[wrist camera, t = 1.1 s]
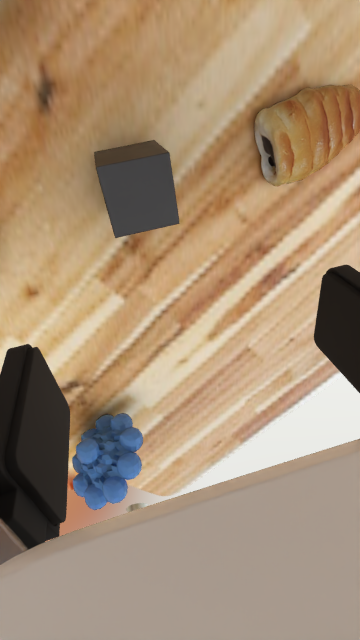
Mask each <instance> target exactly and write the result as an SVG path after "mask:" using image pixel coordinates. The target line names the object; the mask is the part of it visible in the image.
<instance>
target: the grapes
mask: <svg viewBox="0 0 360 640" xmlns="http://www.w3.org/2000/svg"><path fill="white" fill-rule="evenodd" d="M132 425H133V423H132V419H131V418H130V417H129V415H127V414H124V413H121V414H117V415H116V416H114V417H113V416H112V415H108V414H107V415H103V416H101V417H100V418H99V419H98V420H97V421H96V429H94V428H93V429H89V430H87V431H86V432H84V433H83V434H82V436H81V442H80V443H79V444H78V445H77V446H76V454H75V456H74V457H73V458H72V463H73V467H74V469H75V470H76V472H77V473H79V474H78V475H77V476H76V477H75V478H74V479H73V487H74V491H75V492H76V494H77V495H78V496H81V497H84V498H85V502H86V504H87V505H88V507H89V508H91V509H93V510H97V509H101V508H102V507H103V506H105V505H106V503H107V501H108V502H110V503H113V504H114V503H118V502H120V501H121V500H123V499H124V498H125V496H126V494H127V489H128V486H127V482H126V480H130V479H134V478H135V477H136V476H137V475H138V474H139V473H140V471H141V466H142V463H141V460H140V457H139V456H138V455H137V454H136V453H134V452H136V451H137V450H138V449H140V447H141V446H142V444H143V437H142V433H141V432H140V431H139V430H138V429H137V428H134V427H132ZM125 479H126V480H125Z"/></svg>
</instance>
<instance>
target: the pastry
mask: <svg viewBox="0 0 360 640" xmlns="http://www.w3.org/2000/svg"><path fill="white" fill-rule="evenodd" d="M359 131H360V90H359V89H358V88H357V87H355V86H353V85H344V86H334V85H328V86H323V87H320V88H315V89H312V88H305V89H303V90H301V91H300V92H299V93H298V94H297V95H296V96H293V97H291V98H289V99H287V100H284V101H281V102H278V103H276V104H275V105H273V106H272V107H269V108H264V109H262V110H261V111H260V112H259V113H258V114H257V117H256V120H255V139H256V143H257V146H258V149H259V152H260V154H261V156H262V161H261V168H262V172H263V176H264V177H265V179H266V180H267V181H268V182H269V183H270V184H272V185H274V186H280V185H282V184H289V183H292V182H295V181H300V180H303V179H304V178H306V177H307V176H309V175H310V174H312V173H314V172H316V171H318V170H319V169H321V168H322V167H323V166H324V165H326V164H328V163H329V162H330V161H331V159H332V158H334V157H335V156H337V155H338V154H339V152H340V151H341V150H342V149H343V148H344V147H345V146H346V145H347V144H348V143H350V142H351V141H352V139H353V138H354V137H355V136H356V135H357V134H358V133H359Z"/></svg>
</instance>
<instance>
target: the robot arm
mask: <svg viewBox="0 0 360 640" xmlns="http://www.w3.org/2000/svg"><path fill="white" fill-rule="evenodd" d="M314 340H315V343H316V345H317V347H318V348H319V349H320V350H321V351H322V352H323V353H324V354H325V355H326V356H327V358H328V359H329V360H330V361H331V362H332V363H333V364H334V365H335V366H336V368H337V369H338V370H339V371H340V372H341V373H342V374H343V375H344V376H345V377H346V378H347V380H348V381H349V382H350V383H351V384H352V385H353V386H354V387H355V388H356V390H357V391H358V392H359V393H360V272H358V271H357V270H355V269H354V268H352V267H351V266H349V265H342V266H338V267H334V268H330V269H329V270H328V271H327V272H326V274H325V275H324V276H323V278H322V283H321V290H320V297H319V304H318V311H317V318H316V325H315V332H314ZM69 431H70V409H69V406H68V403H67V401H66V399H65V397H64V395H63V394H62V392H61V390H60V388H59V386H58V384H57V382H56V380H55V378H54V376H53V375H52V373H51V371H50V369H49V367H48V365H47V363H46V361H45V359H44V357H43V355H42V354H41V352H40V350H39V348H38V347H34V348H32V347H31V346H30V345H29V344H26V345H22V346H18V347H14V348H10V349H8V351H7V353H6V357H5V360H4V364H3V367H2V371H1V374H0V640H360V439H358V440H354V441H351V442H348V443H345V444H342V445H339V446H335V447H332V448H329V449H326V450H323V451H319V452H316V453H313V454H310V455H307V456H304V457H300V458H297V459H294V460H291V461H288V462H284V463H282V464H278V465H275V466H272V467H269V468H265V469H262V470H259V471H256V472H253V473H250V474H246V475H243V476H240V477H237V478H234V479H231V480H228V481H224V482H221V483H218V484H215V485H212V486H209V487H206V488H203V489H200V490H197V491H193V492H190V493H187V494H184V495H181V496H178V497H175V498H172V499H169V500H165V501H162V502H160V503H156V504H153V505H150V506H147V507H144V508H141V509H137V510H134V511H131V512H128V513H126V514H123V515H120V516H117V517H114V518H111V519H108V520H105V521H102V522H99V523H96V524H93V525H90V526H88V527H85V528H82V529H79V530H76V531H73V532H70V533H68V534H65V535H62V536H60V537H59V528H60V523H62V522H64V521H65V519H66V506H67V482H68V457H69ZM56 537H57V538H56ZM53 538H55V539H53ZM50 539H52V540H50ZM47 540H50V541H47ZM45 541H47V542H45Z"/></svg>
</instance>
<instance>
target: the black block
mask: <svg viewBox="0 0 360 640" xmlns="http://www.w3.org/2000/svg"><path fill="white" fill-rule="evenodd" d="M94 156H95V165H96V170H97V174H98V177H99V181H100V185H101V188H102V192H103V196H104V199H105V203H106V206H107V210H108V214H109V217H110V221H111V225H112V228H113V232H114V235H115V238H118V237H122V236H126V235H131V234H135V233H140V232H144V231H149V230H153V229H157V228H162V227H166V226H171V225H175V224H179V216H178V209H177V202H176V195H175V188H174V182H173V175H172V168H171V161H170V154H169V152H168V151H167V150H165V149H164V148H163V147H162V146H161V145H159V144H158V143H157V142H156V141H155V140H153V141H148V142H143V143H138V144H133V145H128V146H123V147H118V148H113V149H108V150H103V151H98V152H94Z"/></svg>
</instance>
